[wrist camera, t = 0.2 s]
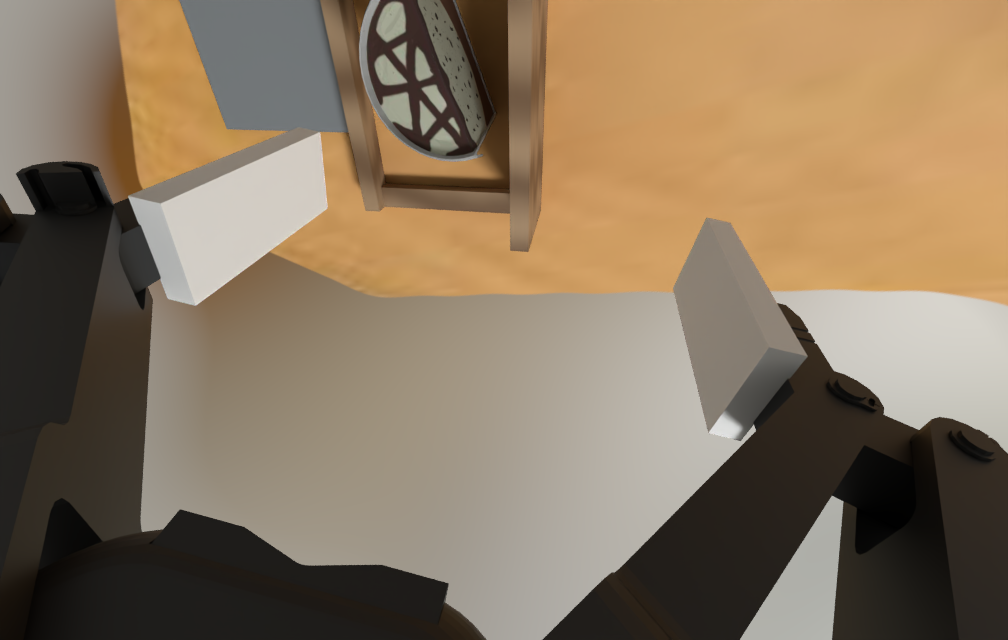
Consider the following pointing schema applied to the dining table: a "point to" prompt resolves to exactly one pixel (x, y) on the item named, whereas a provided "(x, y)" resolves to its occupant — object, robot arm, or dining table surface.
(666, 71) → the dining table surface
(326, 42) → the mat
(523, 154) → the wooden frame
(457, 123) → the food container
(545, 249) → the dining table surface
